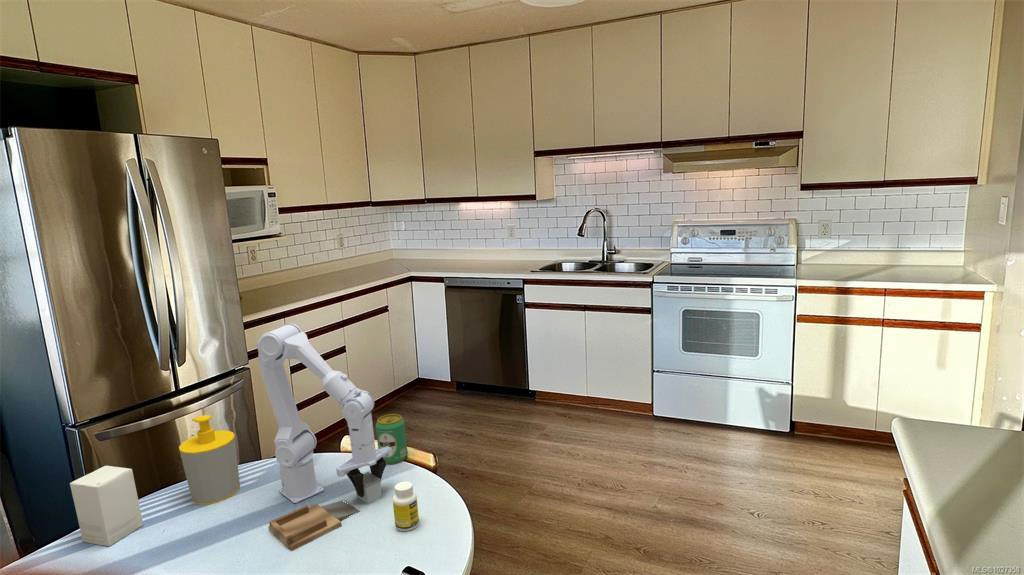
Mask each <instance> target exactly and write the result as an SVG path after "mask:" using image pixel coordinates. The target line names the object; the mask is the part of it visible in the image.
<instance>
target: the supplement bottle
mask: <svg viewBox="0 0 1024 575" xmlns="http://www.w3.org/2000/svg"><path fill="white" fill-rule="evenodd" d="M392 505H393V506H392V508H393V516H394V525H395V528H396V529H397V530H398V531H400V532H409V531H413V530H415V529H416V528H417V527H418V526H419V524H420V517H419V508H418V495H417V493H416V492H415V491H414V486H413V483H412V482H411V481H401V482H398V483H397V484H395V486H394V495H393V497H392Z"/></svg>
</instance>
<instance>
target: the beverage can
mask: <svg viewBox="0 0 1024 575" xmlns="http://www.w3.org/2000/svg"><path fill="white" fill-rule="evenodd" d="M375 433H376V442H377V449H380V448H384V447H386V446H388V447H390V448H391V449H392V455H391V456H386V457H384V458H383V460H385V461H386V463H387V464H386V465H394V464H398V462H399V463H402V462H403V461H404V460H406V458H407V456H408V445H407V436H406V435H407V434H406V425H405V420H404V418H403V417H402V415H400V414H398V413H397V414H396V413H390V414H385V415H382V416H380V417H378V418H377V420H376V423H375Z"/></svg>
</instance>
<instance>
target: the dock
mask: <svg viewBox="0 0 1024 575" xmlns="http://www.w3.org/2000/svg"><path fill="white" fill-rule="evenodd" d="M343 500H344V499H342V500H338V501H336V502H332V503H329V504H326V505H322V506H320V505H319V504H318V503H315V504H314V505H312V506H310V507H309V506H308V505H303V506H301V507H299V508H296V509H295V510H292V511H291V512H288V513H286V514H284V515H281V516H279V517H278V518H275V519H273V520H270V521H269V522H268V524H269V525H268V531H269V532H270V533H271V532H272V533H273V534H272V533H271V534H272V535H273V536H274V537H275V538H276V539H278V540H279V541H280V542H281V543H282V542H283V543H284V545H285V546H286V548H288V549H289V550H290V551H291V552H293V551H295V550H296V549H298V548H301V547H302V546H304V545H306V544H308V543H310V542H313V541H314V540H316V539H318V538H320V537H322V536H324V535H326V534H328V533H329V532H332V531H334V530H335V529H338V528H340V527H341V526H342V521H341V520H344V519H348V518H350V517H352V516H354V515H356V514H358V513H360V512H361V510H359V509H358V508H356V507H355V506H353V505H352V504H351V503H349V504H347V503H348V501H346V503H345V502H343ZM355 513H356V514H355ZM353 514H354V515H353ZM351 515H352V516H351ZM349 516H350V517H349ZM347 517H348V518H347ZM283 543H282V544H283ZM292 550H293V551H292Z"/></svg>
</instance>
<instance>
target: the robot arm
mask: <svg viewBox="0 0 1024 575" xmlns="http://www.w3.org/2000/svg"><path fill="white" fill-rule="evenodd" d="M255 346H256V348H257V352H258V357H257V365H258V368H259V372H260V374H261V377H262V380H263V384H264V387H265V390H266V393H267V396H268V400H269V403H270V406H271V409H272V413H273V416H274V418H275V422H276V425H277V427H278V431H277V433H276V435H275V438H274V441H273V442H274V447H275V451H274V456H275V457H274V458H275V460H276V461H277V463H278V464H279V474H280V481H281V488H279V490H278V492H279V493H280V494H281V495H283V496H284V497H285V498H287V499H288V500H289V501H290V502H291V503H293V504H297V503H300V502H301V501H303V500H306V499H308V498H311V497H312V496H315V495H317V494H320V493H322V492H323V491H324V488H323V487H322V486H320V485H319V484H317V477H316V470H315V463H314V456H313V455H314V449H316V447H317V437H316V436H315V434H314V433H313V431H312V430H311V428H310V425H309V424H308V423H306V422H304V421H302V420H301V417H300V415H299V411H298V407H297V405H296V404H297V403H296V401H295V398H294V395H293V392H292V391H293V390H292V388H291V385H290V381H289V378H288V375H287V372H286V369H285V365H284V363H285V362H286V360H298V361H300V363H301V364H303V365H304V366H305V367H306V368H307V369H308V370H310V372H312V374H314V375H315V376H316V377H318V379H320V380H321V381H322V384H321V385H322V386H321V387H322V390H324V391H325V392H326V393H327V394H328V395H329V397H331V399H333V400H334V401H335V402H336V403H337V404H338V405H339V406H340V408H342V410H341V415H342V416H343V418H344V419H345V421H346V422H347V427H348V433H349V441H350V449H351V455H352V456H351V457H352V458H350V459H349V460H347V461H345V462H344V463H342V464H341V465H339V466H338V467H336V468H335V469H336V476H337V477H339V478H344V477H345V476H347V477H348V479H349V480H350V482H351V483H352V485H353V487H354V489H355V493H356V492H357V495H358V496H360V497H364V490H363V476H364V474H365V473H363V472H361V470H360V468H363V467H367V466H368V467H369V469H370V473H371V474H373V475H375V476H377V477H378V478H380V479H381V481H380V483H381V484H382V478H383V474H384V471H385V468H386V467H387V464H386V461H385V460H383V458H384V457H386V456H391V455H392V449H391V448H390V447H388V446H386V447H384V448H380V449H378V448H376V442H375V433H374V426H373V425H374V424H373V416H372V410H373V409H374V407H375V400H374V397H373V396H372V395H371V393H370V392H369V391H367V390H365V389H364V390H363V389H360V388H358V387H357V386H356V385H355V384H354V383H353V381H351V380H350V379H349V378H348V377H349V376H348V375H347V374H346V373H344V372H342V371H339V370H333V369H332V367H330V365H329V364H328V363H327V361H325V360H324V358H323V356H321V355H320V353H318V351H316V349H315V348H314V347H313V346H312V345H311V343H310V342H309V338H308V335H307V333H305V332H304V331H302V329H301V328H300V327H299V326H298V325H297V324H294V323H285V324H284V325H282V326H281V327H279V328H276V329H273V330H271V331H267V332H265V333H263V334H262V335H261V336H260V337H259V339H258V340H257V342H256V344H255ZM357 495H356V496H357Z"/></svg>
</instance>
